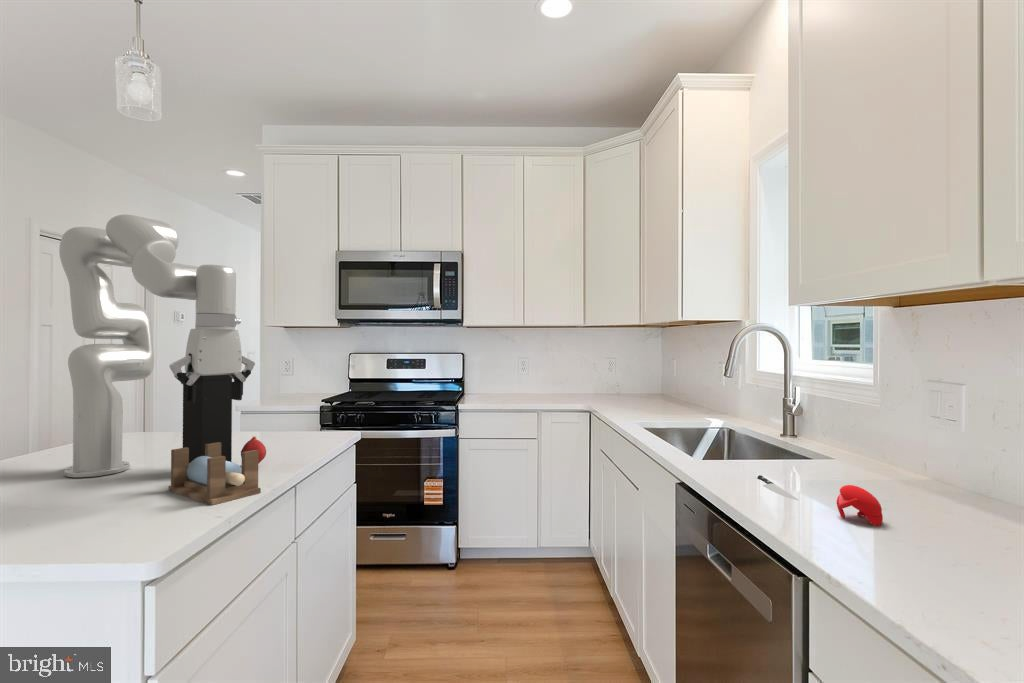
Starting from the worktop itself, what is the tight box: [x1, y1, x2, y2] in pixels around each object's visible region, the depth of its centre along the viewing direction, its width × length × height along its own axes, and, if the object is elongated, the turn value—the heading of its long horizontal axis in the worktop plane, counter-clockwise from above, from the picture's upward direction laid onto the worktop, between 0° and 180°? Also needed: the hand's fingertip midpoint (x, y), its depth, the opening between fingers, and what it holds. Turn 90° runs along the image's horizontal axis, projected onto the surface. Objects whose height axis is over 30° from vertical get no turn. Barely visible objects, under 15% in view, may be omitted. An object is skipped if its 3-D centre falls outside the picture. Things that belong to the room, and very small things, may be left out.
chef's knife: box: [757, 474, 799, 501], centre depth 115 cm, size 19×1×3 cm
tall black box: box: [182, 372, 234, 463], centre depth 127 cm, size 8×8×28 cm
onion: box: [240, 435, 267, 465], centre depth 132 cm, size 6×6×8 cm
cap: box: [836, 484, 884, 527], centre depth 95 cm, size 8×6×6 cm
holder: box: [168, 442, 262, 506], centre depth 110 cm, size 18×10×9 cm, turn 57°
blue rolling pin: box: [187, 456, 245, 487], centre depth 110 cm, size 19×6×6 cm, turn 58°
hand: (214, 401), depth 110 cm, fingers open, 9 cm apart
